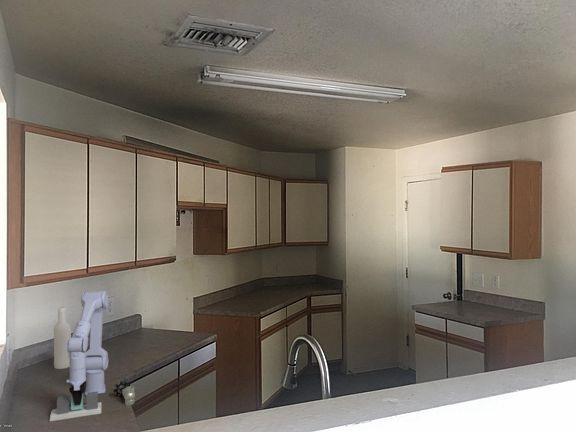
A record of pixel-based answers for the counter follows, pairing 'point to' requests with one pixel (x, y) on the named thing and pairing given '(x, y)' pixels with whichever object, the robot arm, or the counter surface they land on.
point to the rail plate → (66, 412)
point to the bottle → (61, 340)
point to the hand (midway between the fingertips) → (78, 402)
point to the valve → (126, 393)
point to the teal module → (75, 407)
